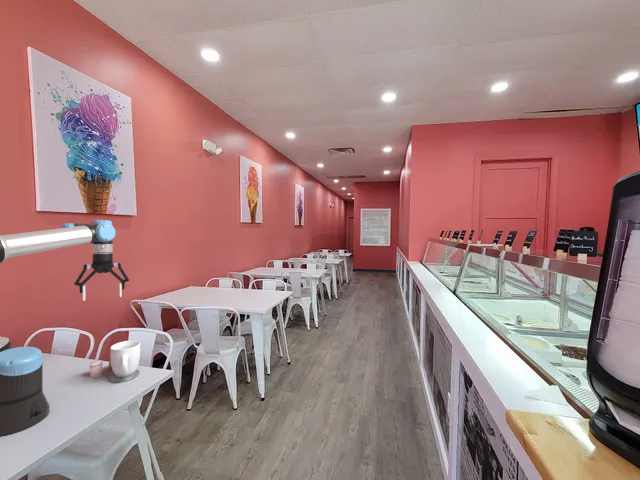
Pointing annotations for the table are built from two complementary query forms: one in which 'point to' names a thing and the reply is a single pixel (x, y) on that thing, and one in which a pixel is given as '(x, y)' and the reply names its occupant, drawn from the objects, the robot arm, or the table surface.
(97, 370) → the pink jar
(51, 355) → the table surface
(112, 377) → the coaster
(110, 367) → the walnut cube
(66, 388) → the table surface
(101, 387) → the table surface
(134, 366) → the mug
